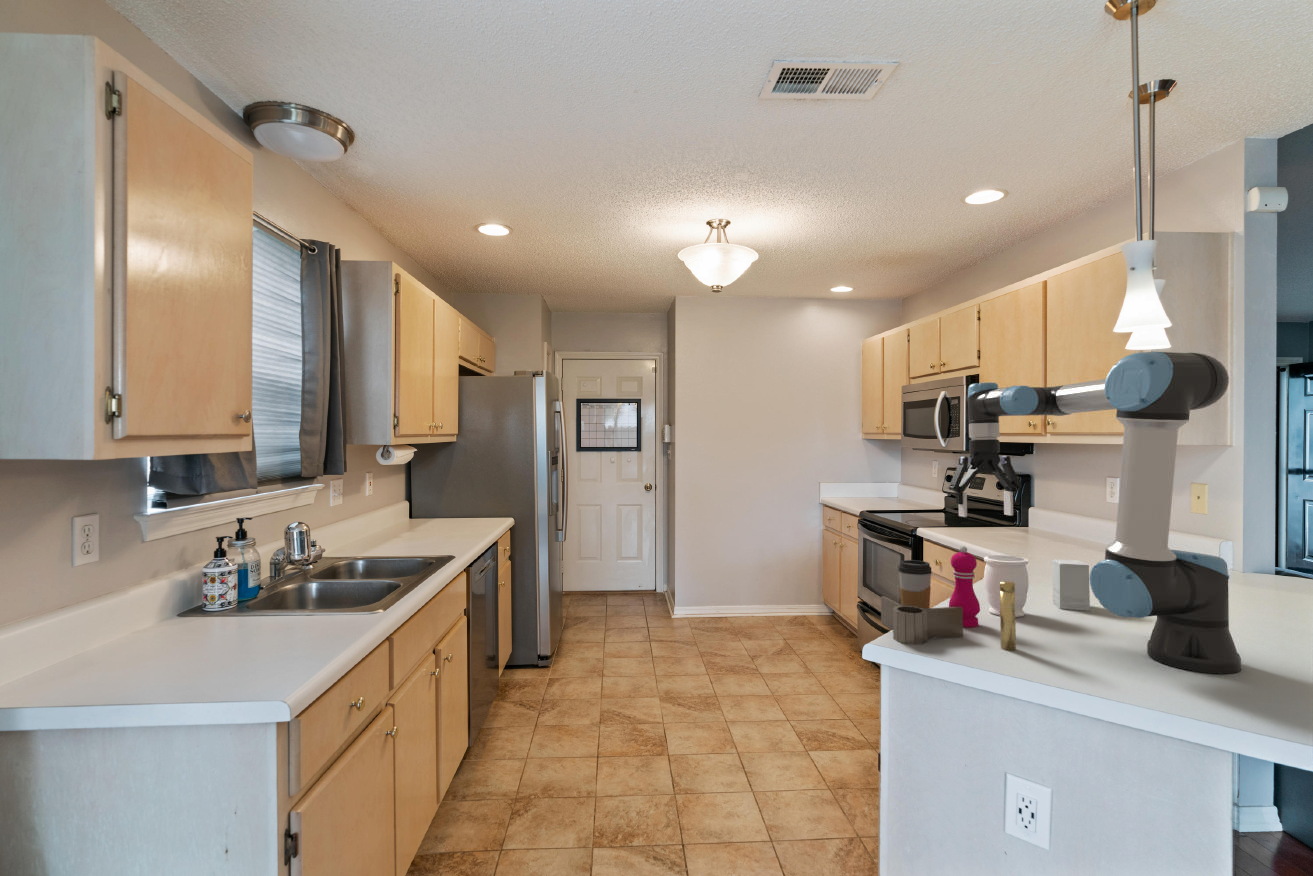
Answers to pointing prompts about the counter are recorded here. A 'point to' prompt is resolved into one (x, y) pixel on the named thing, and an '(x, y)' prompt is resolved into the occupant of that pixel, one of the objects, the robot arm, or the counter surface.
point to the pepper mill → (965, 587)
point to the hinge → (921, 622)
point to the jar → (1006, 571)
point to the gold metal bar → (1007, 615)
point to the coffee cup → (915, 583)
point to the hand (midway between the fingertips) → (985, 515)
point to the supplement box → (1071, 584)
